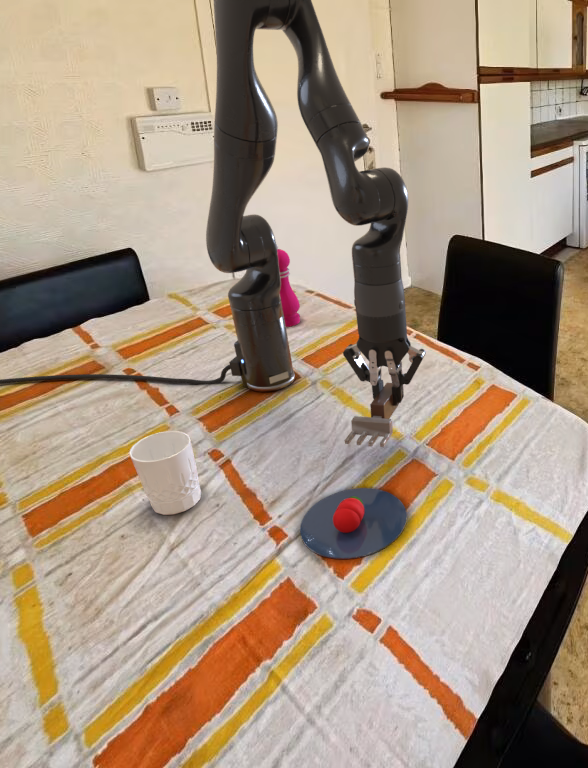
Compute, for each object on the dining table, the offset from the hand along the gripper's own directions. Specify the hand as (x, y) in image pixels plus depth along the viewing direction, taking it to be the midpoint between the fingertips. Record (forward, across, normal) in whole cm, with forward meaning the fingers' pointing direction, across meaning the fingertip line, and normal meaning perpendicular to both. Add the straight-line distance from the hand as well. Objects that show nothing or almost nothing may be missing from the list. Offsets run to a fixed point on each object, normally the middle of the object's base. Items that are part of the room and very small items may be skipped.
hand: (388, 402), depth 104 cm
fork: (+1, 0, +5) cm, 5 cm away
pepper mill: (+9, +41, -48) cm, 64 cm away
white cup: (+8, +28, +20) cm, 35 cm away
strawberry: (+8, 0, +22) cm, 23 cm away
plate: (+8, 0, +21) cm, 22 cm away
